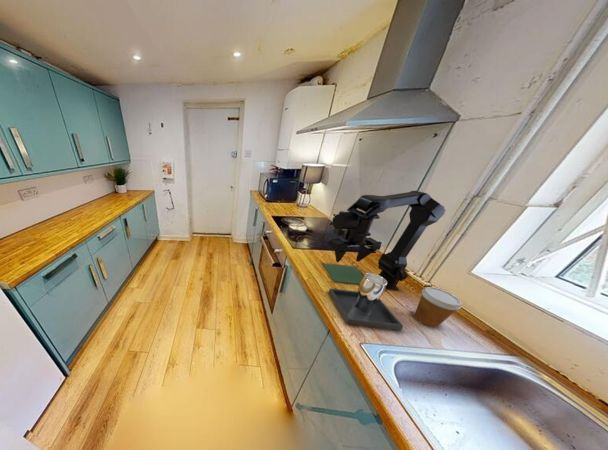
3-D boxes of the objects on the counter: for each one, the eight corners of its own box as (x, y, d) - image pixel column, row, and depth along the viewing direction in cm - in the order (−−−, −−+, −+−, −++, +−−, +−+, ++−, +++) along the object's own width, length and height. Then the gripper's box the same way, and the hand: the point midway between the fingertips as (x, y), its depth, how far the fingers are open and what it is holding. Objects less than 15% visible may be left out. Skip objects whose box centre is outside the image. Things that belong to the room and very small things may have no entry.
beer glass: (376, 318, 73) (393, 286, 66) (355, 314, 74) (369, 283, 68) (366, 303, 79) (380, 273, 73) (347, 300, 80) (360, 271, 74)
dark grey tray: (372, 297, 83) (374, 293, 82) (400, 331, 68) (403, 326, 67) (328, 292, 85) (329, 288, 84) (346, 324, 71) (348, 319, 69)
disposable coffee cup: (449, 336, 67) (469, 311, 62) (412, 323, 72) (428, 298, 67) (438, 316, 74) (456, 292, 70) (405, 306, 79) (419, 282, 74)
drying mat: (355, 267, 102) (355, 266, 102) (371, 285, 89) (371, 285, 89) (322, 264, 104) (322, 263, 104) (334, 281, 91) (334, 281, 91)
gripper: (365, 219, 85) (353, 250, 91) (324, 220, 83) (315, 251, 89) (389, 231, 74) (373, 265, 81) (343, 232, 73) (331, 266, 79)
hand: (347, 261), depth 83 cm, fingers open, 9 cm apart
